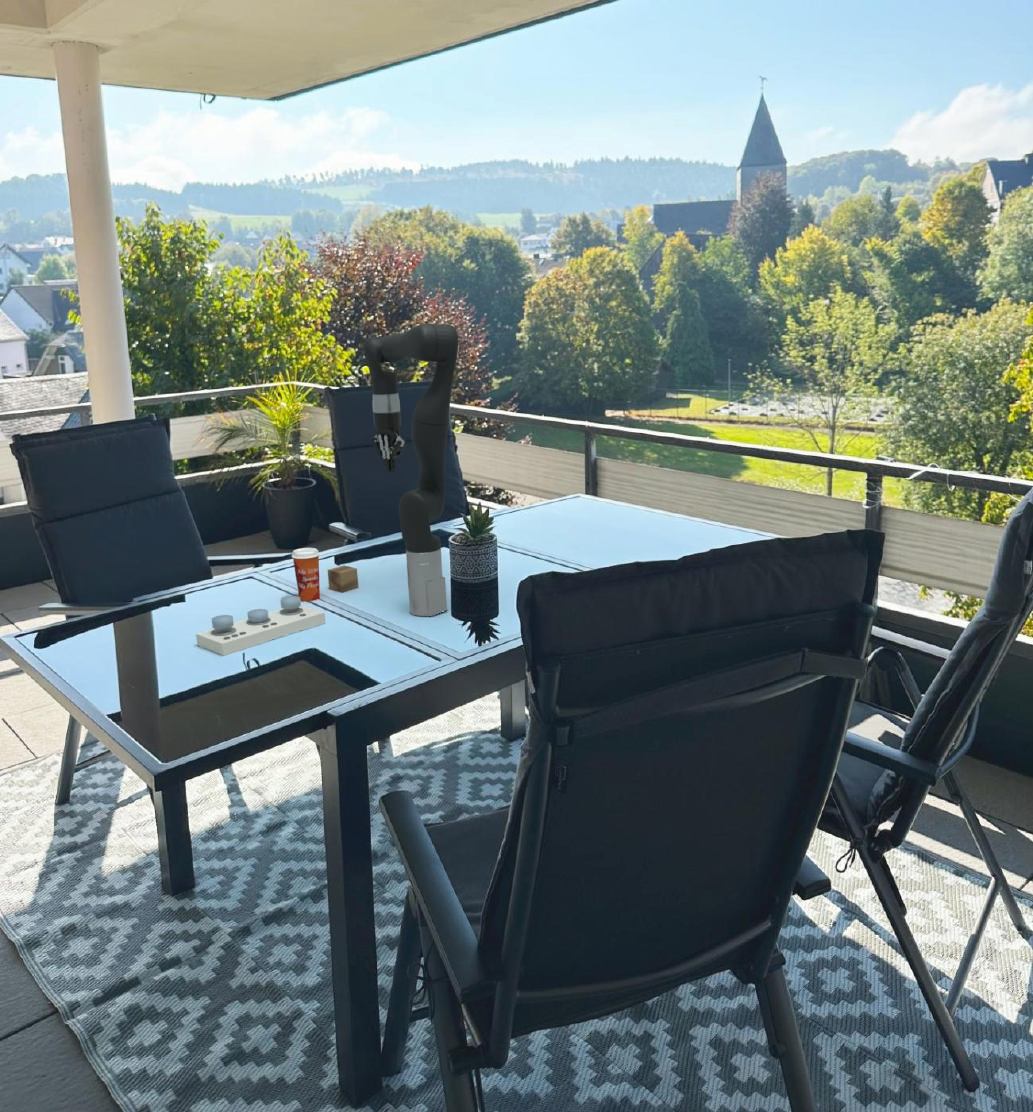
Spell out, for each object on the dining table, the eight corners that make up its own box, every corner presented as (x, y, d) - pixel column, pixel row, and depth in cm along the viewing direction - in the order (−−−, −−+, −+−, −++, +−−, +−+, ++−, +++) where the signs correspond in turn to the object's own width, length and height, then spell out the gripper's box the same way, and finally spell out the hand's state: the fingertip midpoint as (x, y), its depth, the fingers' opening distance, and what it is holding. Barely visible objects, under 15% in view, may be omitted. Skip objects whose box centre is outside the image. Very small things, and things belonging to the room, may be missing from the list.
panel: (325, 623, 260) (324, 611, 259) (223, 655, 239) (222, 642, 238) (298, 614, 268) (297, 603, 267) (197, 645, 247) (195, 632, 246)
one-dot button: (304, 605, 261) (303, 598, 260) (288, 610, 257) (287, 602, 257) (293, 602, 264) (292, 594, 263) (277, 606, 260) (276, 599, 260)
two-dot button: (272, 618, 254) (271, 611, 253) (255, 623, 250) (254, 616, 250) (261, 615, 257) (260, 607, 257) (244, 620, 254) (243, 612, 253)
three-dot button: (237, 625, 247) (236, 617, 246) (219, 630, 243) (218, 622, 243) (226, 621, 250) (225, 613, 249) (208, 626, 246) (207, 618, 246)
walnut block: (358, 588, 291) (356, 568, 290) (342, 593, 287) (340, 573, 285) (345, 584, 295) (344, 565, 294) (329, 589, 291) (327, 569, 289)
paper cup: (300, 604, 278) (295, 555, 274) (292, 597, 284) (288, 549, 281) (327, 599, 281) (323, 551, 277) (319, 592, 288) (315, 545, 284)
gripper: (412, 409, 276) (416, 472, 280) (381, 407, 284) (385, 467, 289) (391, 412, 270) (395, 476, 275) (360, 410, 279) (364, 471, 283)
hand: (390, 471), depth 282 cm, fingers closed
